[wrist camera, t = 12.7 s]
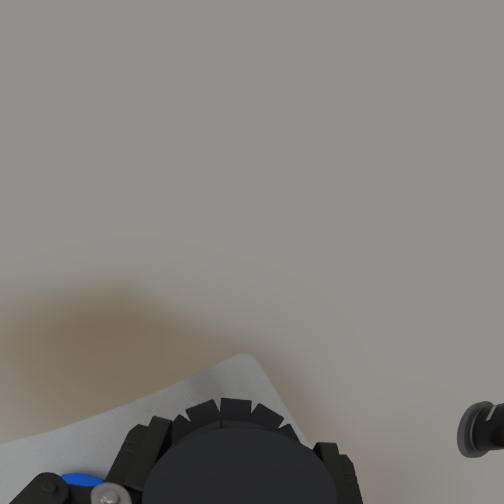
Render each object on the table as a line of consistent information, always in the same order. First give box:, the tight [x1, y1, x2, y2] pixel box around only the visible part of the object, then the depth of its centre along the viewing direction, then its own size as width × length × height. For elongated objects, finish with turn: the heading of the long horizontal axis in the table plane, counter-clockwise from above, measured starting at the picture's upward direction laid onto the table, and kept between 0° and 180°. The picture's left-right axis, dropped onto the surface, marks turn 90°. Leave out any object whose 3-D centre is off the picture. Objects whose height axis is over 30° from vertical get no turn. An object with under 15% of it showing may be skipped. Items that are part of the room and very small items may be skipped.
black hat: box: [142, 398, 338, 504], centre depth 10 cm, size 8×8×9 cm
